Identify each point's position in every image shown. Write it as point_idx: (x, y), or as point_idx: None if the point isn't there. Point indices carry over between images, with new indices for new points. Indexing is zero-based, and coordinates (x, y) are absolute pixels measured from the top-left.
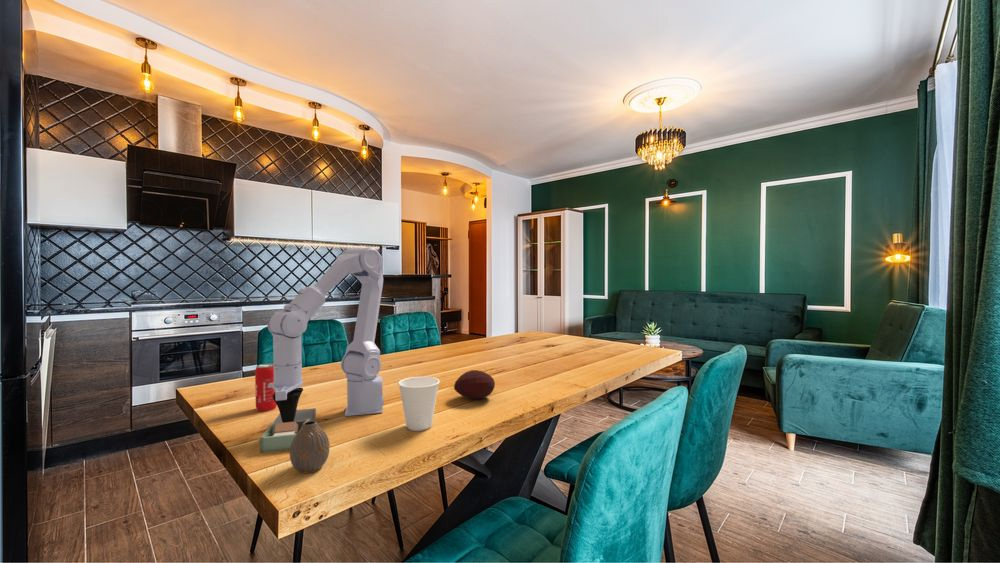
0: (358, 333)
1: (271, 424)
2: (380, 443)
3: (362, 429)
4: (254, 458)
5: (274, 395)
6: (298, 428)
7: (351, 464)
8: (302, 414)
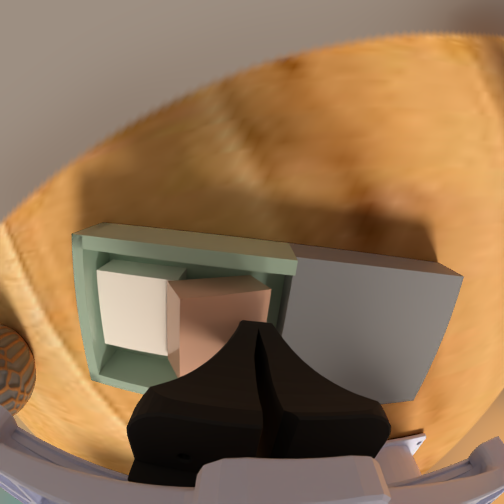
0: None
1: (255, 263)
2: (121, 468)
3: None
4: (69, 211)
5: (133, 425)
6: None
7: (36, 409)
8: (370, 373)
